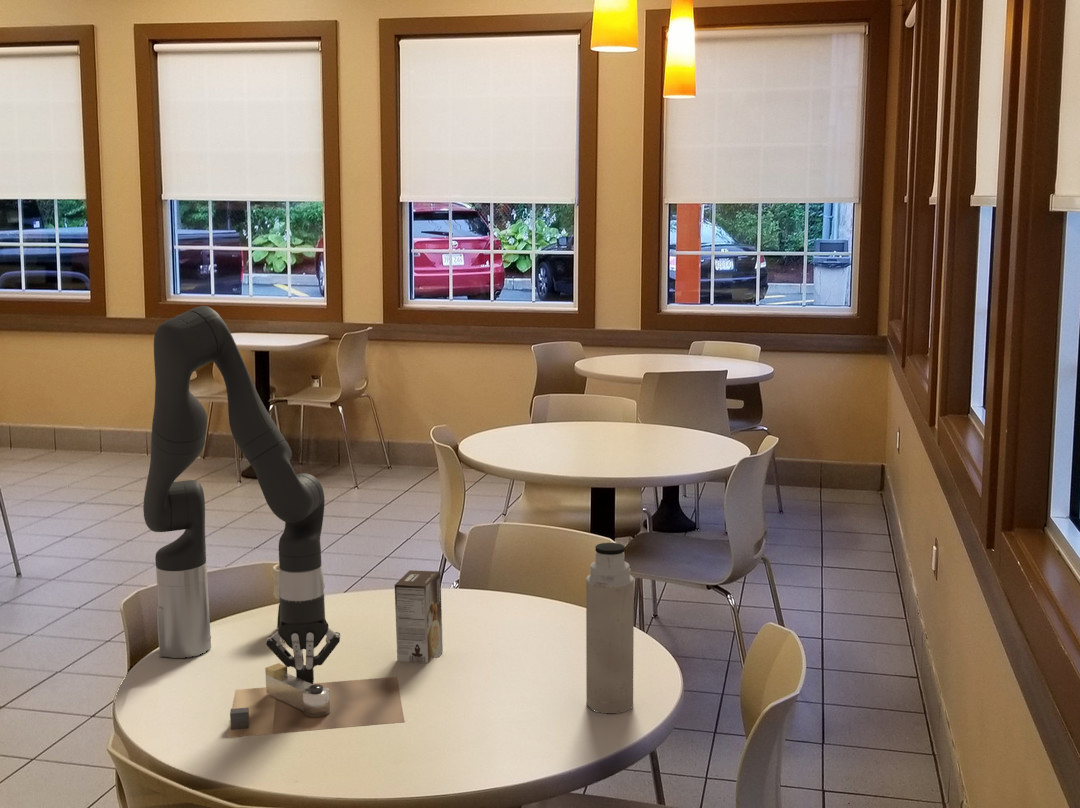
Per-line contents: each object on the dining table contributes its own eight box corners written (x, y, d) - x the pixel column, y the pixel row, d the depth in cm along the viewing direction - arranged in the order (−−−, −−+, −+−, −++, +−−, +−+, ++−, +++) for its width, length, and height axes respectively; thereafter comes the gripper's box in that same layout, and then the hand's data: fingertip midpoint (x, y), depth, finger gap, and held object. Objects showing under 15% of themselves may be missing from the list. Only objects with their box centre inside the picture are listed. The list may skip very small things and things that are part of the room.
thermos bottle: (593, 692, 201) (593, 537, 196) (638, 697, 198) (639, 540, 194) (580, 710, 193) (580, 549, 189) (626, 716, 191) (627, 554, 186)
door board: (227, 744, 182) (227, 737, 182) (236, 696, 200) (235, 689, 200) (404, 728, 187) (404, 721, 187) (397, 683, 206) (397, 676, 205)
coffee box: (411, 649, 222) (409, 568, 219) (443, 651, 220) (441, 570, 218) (396, 667, 213) (393, 583, 210) (429, 669, 212) (427, 585, 209)
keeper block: (230, 729, 185) (230, 713, 184) (231, 725, 186) (230, 708, 186) (248, 728, 185) (248, 711, 185) (249, 723, 187) (248, 707, 186)
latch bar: (335, 711, 191) (334, 684, 190) (314, 719, 188) (313, 692, 187) (284, 687, 201) (282, 661, 200) (262, 695, 197) (261, 669, 197)
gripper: (259, 601, 191) (264, 699, 194) (339, 597, 193) (343, 694, 196) (264, 586, 198) (268, 681, 201) (341, 582, 200) (345, 676, 203)
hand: (305, 687), depth 198 cm, fingers closed
